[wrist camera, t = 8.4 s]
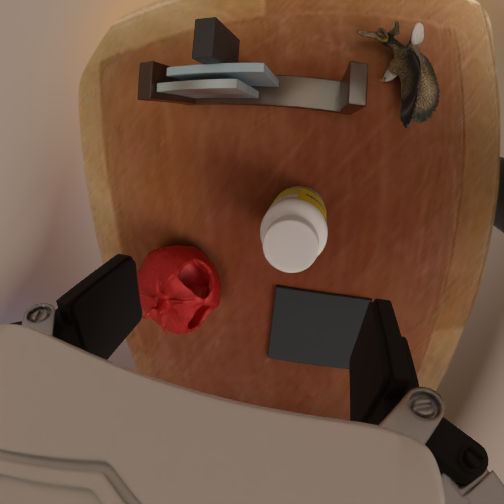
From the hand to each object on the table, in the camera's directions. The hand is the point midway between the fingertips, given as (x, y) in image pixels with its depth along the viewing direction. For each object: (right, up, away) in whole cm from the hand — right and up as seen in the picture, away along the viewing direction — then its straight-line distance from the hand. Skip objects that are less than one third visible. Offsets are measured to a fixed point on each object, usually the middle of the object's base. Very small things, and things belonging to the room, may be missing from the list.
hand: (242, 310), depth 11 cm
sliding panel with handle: (-1, +19, +12) cm, 23 cm away
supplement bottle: (+5, +6, +18) cm, 20 cm away
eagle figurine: (+14, +19, +11) cm, 26 cm away
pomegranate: (-7, 0, +24) cm, 25 cm away
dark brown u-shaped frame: (+2, +17, +14) cm, 23 cm away
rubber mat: (+8, -7, +24) cm, 26 cm away
